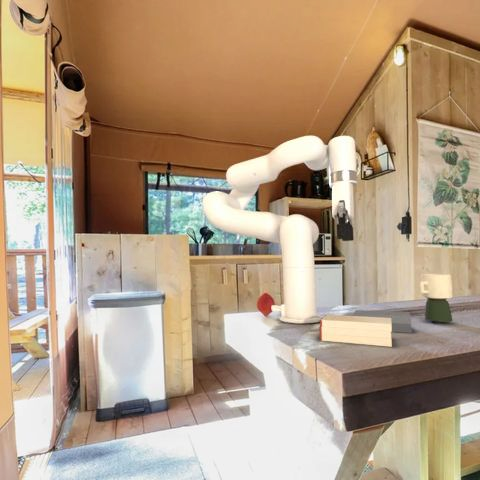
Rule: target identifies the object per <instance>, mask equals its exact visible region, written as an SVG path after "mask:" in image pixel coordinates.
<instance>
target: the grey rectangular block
mask: <svg viewBox="0 0 480 480" xmlns="http://www.w3.org/2000/svg"><path fill="white" fill-rule="evenodd" d="M353 316H362V317H382V318H391V321H392V332H391V333H404V334H405V333H406V334H412V332H413V331H412V318H411V313H410V312H409V311H392V310H391V311H390V310H389V311H388V310H366V309H355V311H354V313H353Z"/></svg>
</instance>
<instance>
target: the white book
mask: <svg viewBox="0 0 480 480" xmlns="http://www.w3.org/2000/svg"><path fill="white" fill-rule="evenodd" d="M320 326H321V327H334V328H348V329H362V330H377V331H391V333H393V332H392V321H391V318H382V317H362V316H354V315H341V314H325V315H323V316H322V319H320V322H319V327H320Z"/></svg>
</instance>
